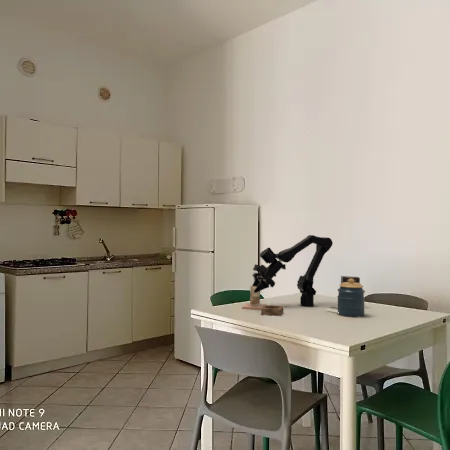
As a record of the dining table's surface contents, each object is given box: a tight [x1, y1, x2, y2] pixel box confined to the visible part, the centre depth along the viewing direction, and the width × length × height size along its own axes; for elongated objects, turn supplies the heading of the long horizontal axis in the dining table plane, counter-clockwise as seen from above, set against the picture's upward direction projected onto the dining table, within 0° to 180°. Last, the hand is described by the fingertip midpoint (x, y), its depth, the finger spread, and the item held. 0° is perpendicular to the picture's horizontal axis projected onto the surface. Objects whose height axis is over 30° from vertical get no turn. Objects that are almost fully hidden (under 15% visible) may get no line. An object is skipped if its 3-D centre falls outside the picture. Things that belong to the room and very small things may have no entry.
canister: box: [336, 279, 366, 318], centre depth 215 cm, size 13×13×18 cm
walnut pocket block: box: [260, 304, 284, 317], centre depth 214 cm, size 10×10×3 cm
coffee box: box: [340, 275, 361, 284], centre depth 236 cm, size 9×6×16 cm
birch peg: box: [249, 285, 261, 305], centre depth 229 cm, size 5×5×9 cm
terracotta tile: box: [241, 302, 267, 311], centre depth 229 cm, size 11×11×1 cm
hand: (252, 291), depth 228 cm, fingers closed on birch peg, 5 cm apart
